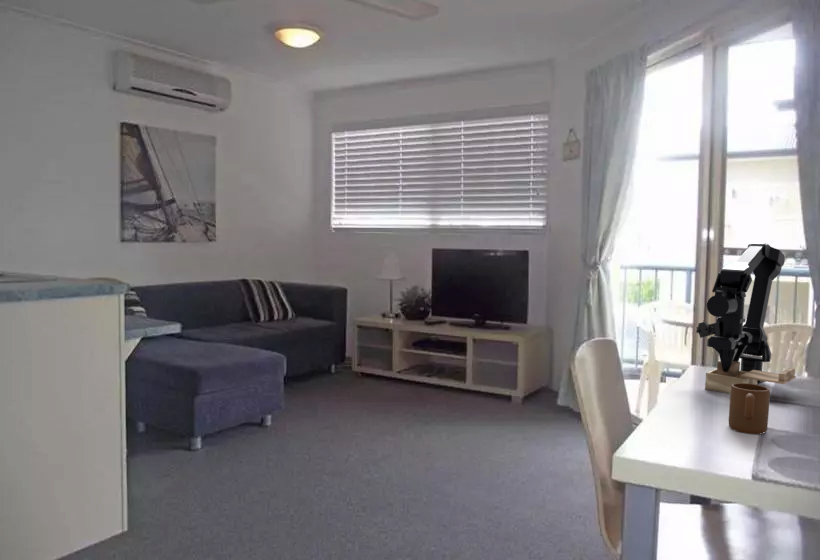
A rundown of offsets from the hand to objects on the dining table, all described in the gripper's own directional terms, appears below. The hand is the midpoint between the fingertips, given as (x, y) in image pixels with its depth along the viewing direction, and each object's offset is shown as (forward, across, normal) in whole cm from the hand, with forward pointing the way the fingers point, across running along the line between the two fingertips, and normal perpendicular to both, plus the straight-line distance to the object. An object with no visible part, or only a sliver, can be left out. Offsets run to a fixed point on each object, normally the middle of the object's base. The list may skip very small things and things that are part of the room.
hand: (728, 370), depth 185 cm
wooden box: (+5, 0, +1) cm, 5 cm away
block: (+1, 0, 0) cm, 1 cm away
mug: (+5, +41, +17) cm, 44 cm away
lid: (0, 0, +10) cm, 10 cm away
